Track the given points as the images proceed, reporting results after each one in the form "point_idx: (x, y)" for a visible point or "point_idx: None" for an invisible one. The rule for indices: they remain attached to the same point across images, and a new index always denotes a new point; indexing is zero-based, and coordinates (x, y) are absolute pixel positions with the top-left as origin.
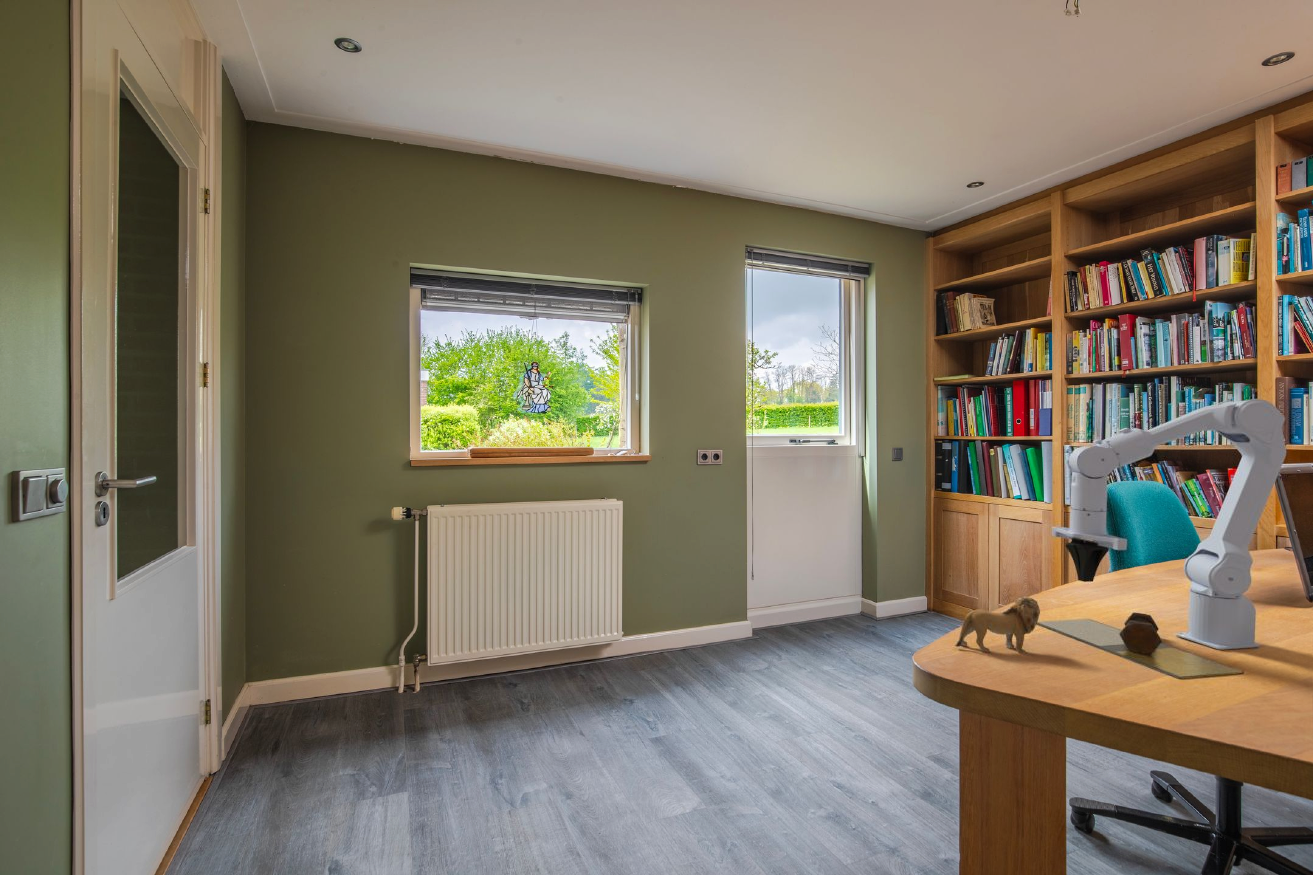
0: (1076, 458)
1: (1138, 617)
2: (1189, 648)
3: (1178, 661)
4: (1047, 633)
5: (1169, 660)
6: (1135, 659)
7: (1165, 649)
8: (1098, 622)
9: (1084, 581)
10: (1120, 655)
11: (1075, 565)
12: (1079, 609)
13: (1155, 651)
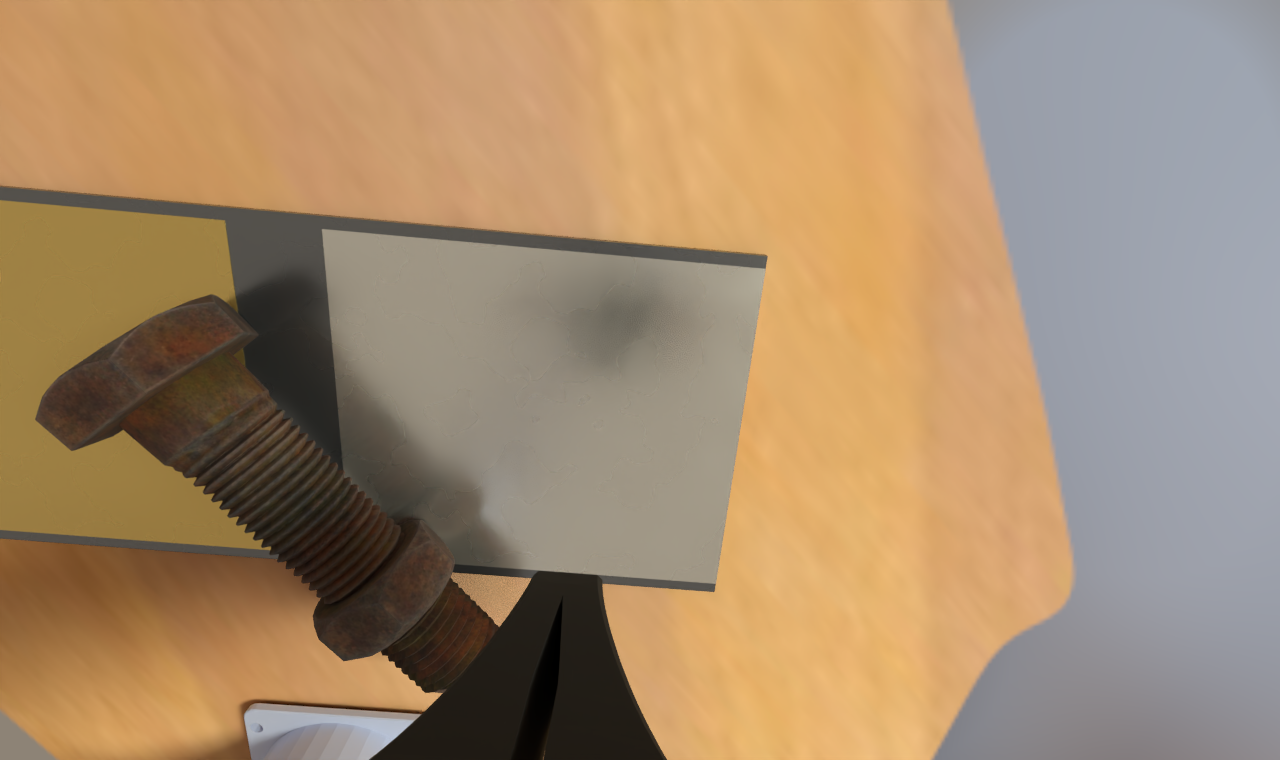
0: None
1: (355, 594)
2: (288, 623)
3: None
4: (595, 158)
5: None
6: (107, 209)
7: None
8: (655, 581)
9: (538, 573)
10: (185, 203)
11: (608, 660)
12: (862, 694)
13: None
